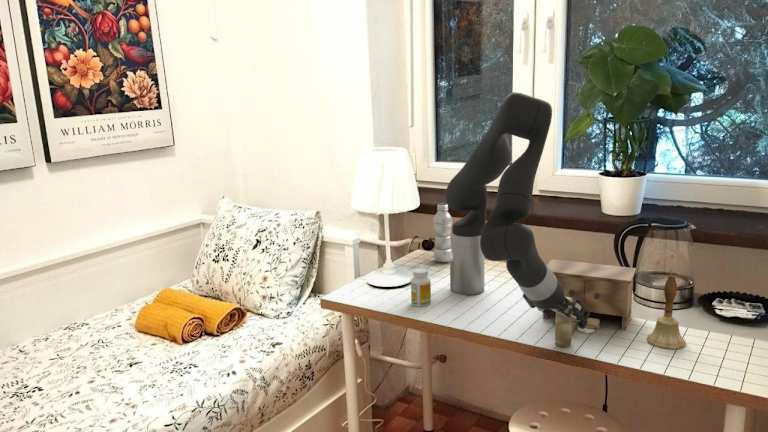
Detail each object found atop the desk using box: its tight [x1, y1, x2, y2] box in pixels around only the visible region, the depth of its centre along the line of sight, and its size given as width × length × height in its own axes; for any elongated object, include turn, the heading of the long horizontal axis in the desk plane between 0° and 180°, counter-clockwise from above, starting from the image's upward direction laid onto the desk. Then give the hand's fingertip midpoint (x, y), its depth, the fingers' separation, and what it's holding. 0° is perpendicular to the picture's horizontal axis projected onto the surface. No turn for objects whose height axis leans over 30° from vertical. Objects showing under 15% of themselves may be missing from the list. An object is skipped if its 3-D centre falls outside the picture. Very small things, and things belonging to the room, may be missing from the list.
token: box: [576, 324, 597, 335], centre depth 147 cm, size 4×4×1 cm
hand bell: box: [646, 274, 687, 350], centre depth 138 cm, size 8×8×16 cm
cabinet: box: [542, 258, 637, 331], centre depth 154 cm, size 21×12×13 cm, turn 62°
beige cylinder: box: [554, 297, 600, 349], centre depth 143 cm, size 10×15×11 cm, turn 152°
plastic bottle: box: [433, 202, 453, 263], centre depth 205 cm, size 6×7×20 cm
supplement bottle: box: [410, 268, 432, 308], centre depth 168 cm, size 5×5×10 cm
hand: (567, 320), depth 140 cm, fingers open, 8 cm apart
